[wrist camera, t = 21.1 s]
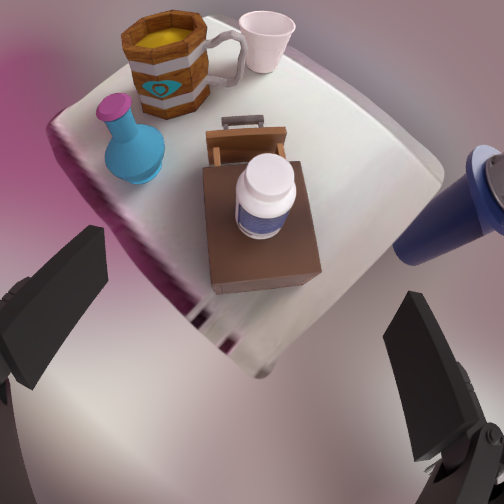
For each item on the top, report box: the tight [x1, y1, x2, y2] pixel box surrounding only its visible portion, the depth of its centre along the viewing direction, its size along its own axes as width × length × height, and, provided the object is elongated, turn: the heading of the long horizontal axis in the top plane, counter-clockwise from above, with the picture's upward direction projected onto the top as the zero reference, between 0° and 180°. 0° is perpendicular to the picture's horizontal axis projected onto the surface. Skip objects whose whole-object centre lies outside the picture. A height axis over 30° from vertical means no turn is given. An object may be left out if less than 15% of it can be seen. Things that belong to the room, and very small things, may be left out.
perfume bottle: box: [96, 93, 165, 184], centre depth 36 cm, size 9×9×15 cm
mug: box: [121, 10, 248, 120], centre depth 41 cm, size 20×14×15 cm
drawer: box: [206, 115, 287, 167], centre depth 39 cm, size 17×11×7 cm, turn 7°
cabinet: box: [203, 161, 322, 295], centre depth 37 cm, size 14×12×9 cm
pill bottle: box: [235, 153, 296, 239], centre depth 28 cm, size 5×5×10 cm
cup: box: [239, 11, 295, 73], centre depth 46 cm, size 10×10×11 cm
